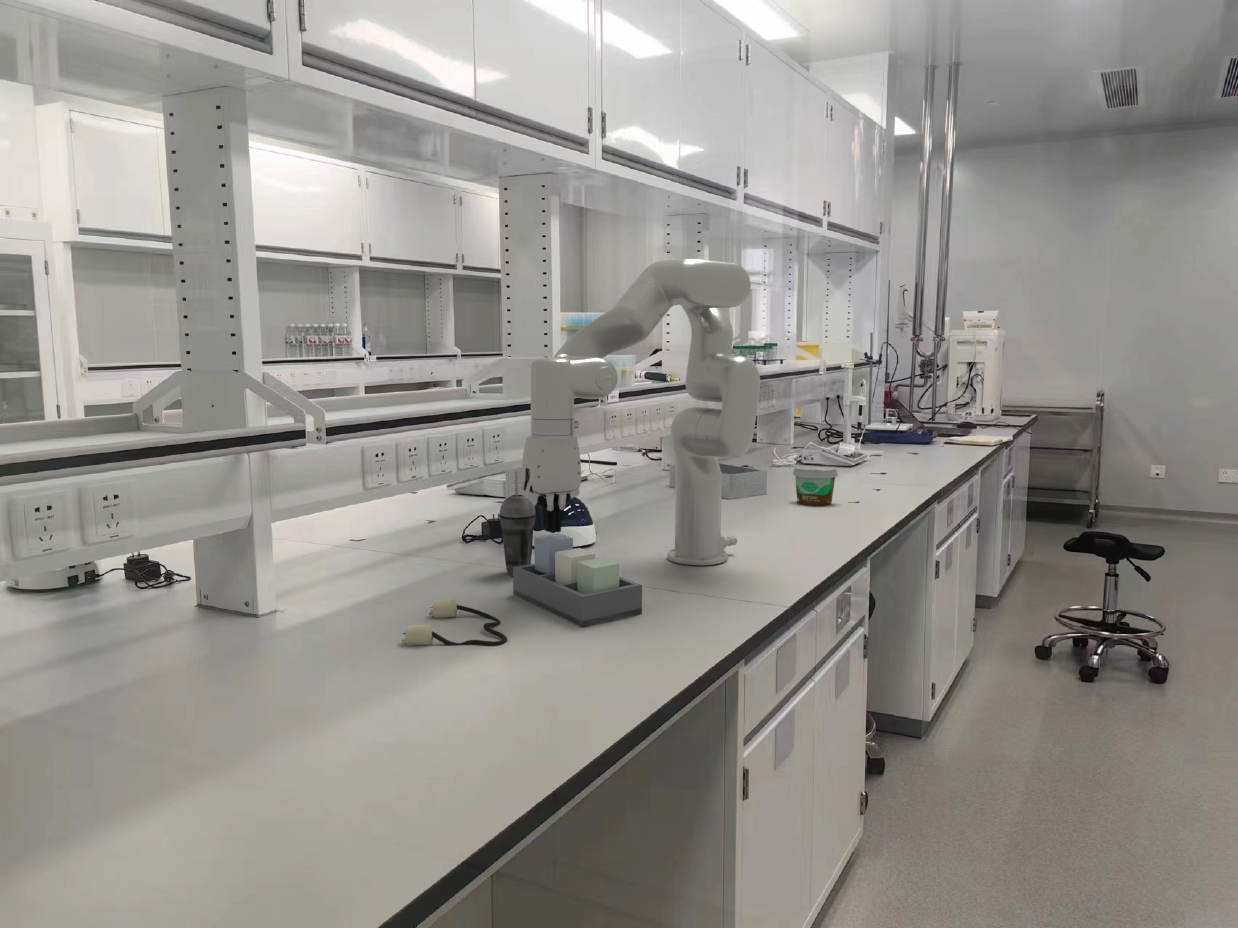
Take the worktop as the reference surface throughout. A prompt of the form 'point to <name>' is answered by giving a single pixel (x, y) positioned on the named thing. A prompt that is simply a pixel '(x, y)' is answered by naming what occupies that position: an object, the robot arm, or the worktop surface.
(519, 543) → the beverage cup
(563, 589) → the box
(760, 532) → the worktop surface
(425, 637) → the cable
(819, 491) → the food container
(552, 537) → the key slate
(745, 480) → the grey storage bin
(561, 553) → the key ivory
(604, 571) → the key sage
